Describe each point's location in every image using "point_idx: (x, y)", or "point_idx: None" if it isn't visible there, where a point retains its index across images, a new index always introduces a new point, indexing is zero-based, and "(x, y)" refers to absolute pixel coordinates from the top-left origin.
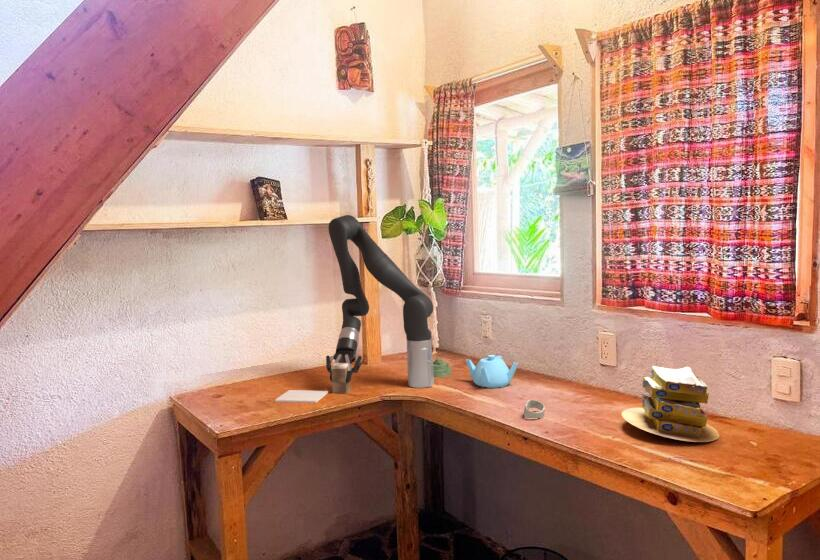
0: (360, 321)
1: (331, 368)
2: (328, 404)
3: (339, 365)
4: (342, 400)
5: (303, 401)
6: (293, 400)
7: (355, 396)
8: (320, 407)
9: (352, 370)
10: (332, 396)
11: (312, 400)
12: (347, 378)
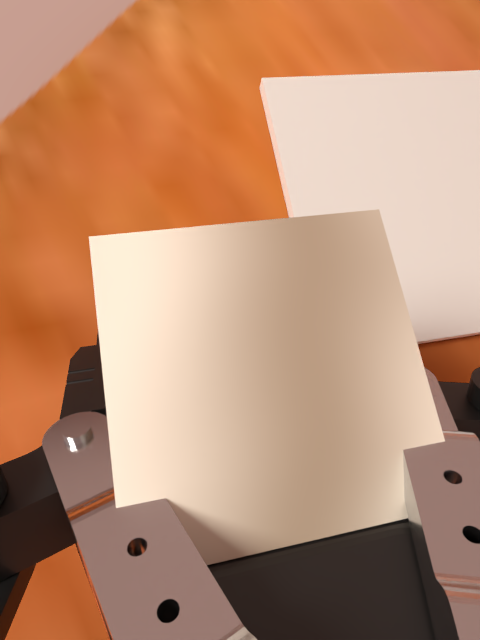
0: None
1: (432, 383)
2: (148, 65)
3: (236, 263)
4: (82, 166)
5: (351, 79)
6: (422, 73)
7: (7, 292)
8: (171, 5)
9: (27, 456)
10: None
11: (293, 85)
12: (98, 337)
